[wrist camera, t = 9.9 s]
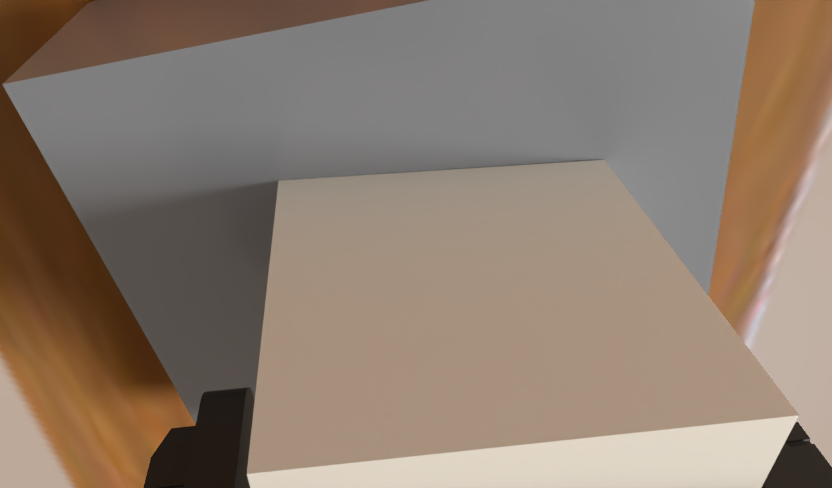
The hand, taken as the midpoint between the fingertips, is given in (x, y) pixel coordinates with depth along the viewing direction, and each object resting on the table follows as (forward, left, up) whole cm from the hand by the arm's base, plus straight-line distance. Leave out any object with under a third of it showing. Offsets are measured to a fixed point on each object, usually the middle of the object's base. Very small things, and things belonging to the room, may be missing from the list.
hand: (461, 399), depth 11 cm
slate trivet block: (0, 0, -8) cm, 8 cm away
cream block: (0, 0, -3) cm, 3 cm away
